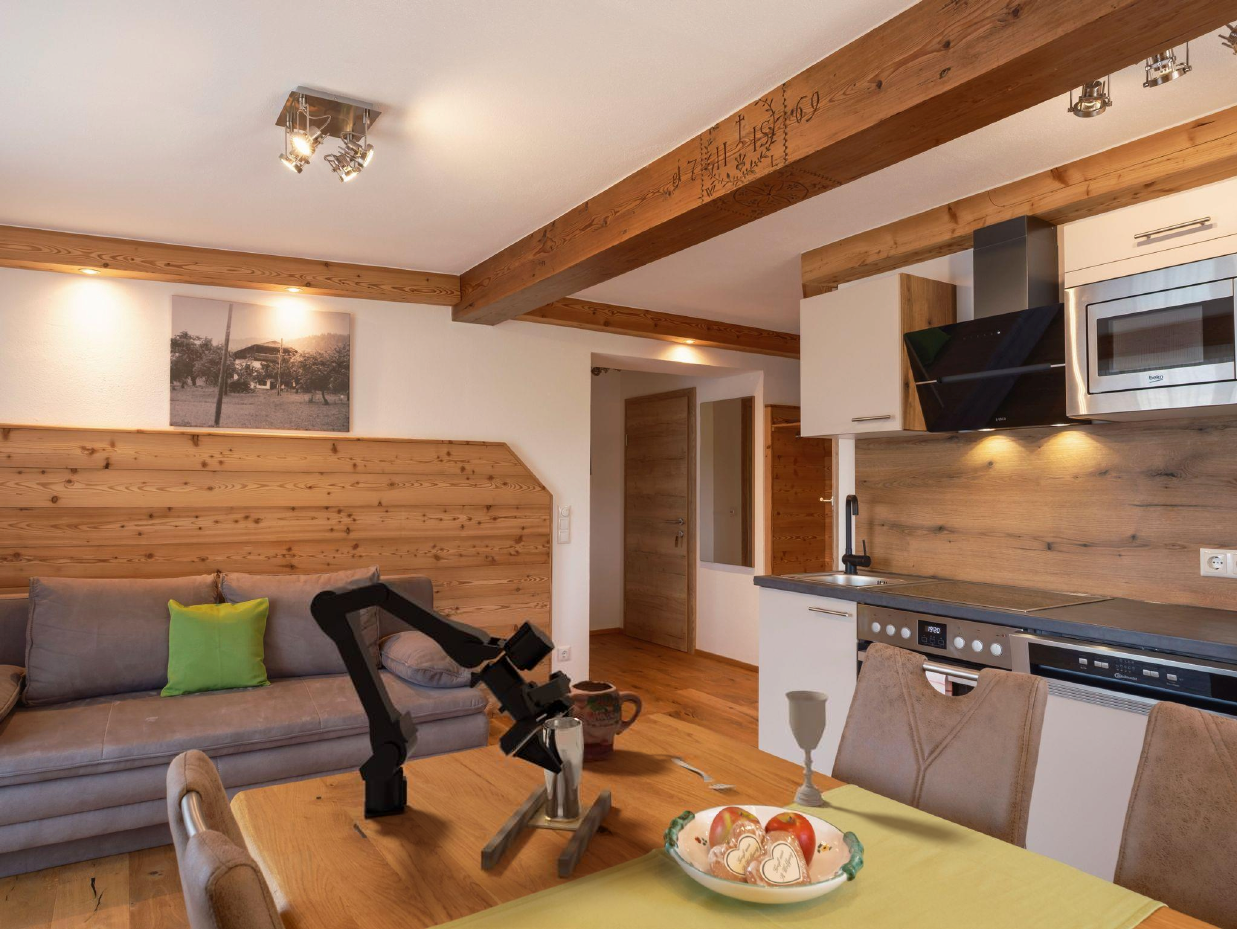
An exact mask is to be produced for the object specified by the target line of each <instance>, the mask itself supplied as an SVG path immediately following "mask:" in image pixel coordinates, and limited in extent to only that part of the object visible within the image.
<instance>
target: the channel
mask: <svg viewBox="0 0 1237 929" xmlns="http://www.w3.org/2000/svg"><path fill="white" fill-rule="evenodd" d="M546 802H547V786H546V785H541V784H539V785H537V786H536V788H535V789H534V790H533V791H532V792H531V793H530V794H529V795H528V797H527V798H526V799H525V801H524V802H523V803H521V805H520V806H519V807H518V808H517V809H516V810H515V812H514V813H513V814H512V815H511V816H510V817H509V818H508V819H507V821H506V822H505V823H504V824H503V825H502V826H501V828H500V829H499V830H498V831H497V832H496V833H495V834H494V836H493V837H492V838H491V839H490V840H489V841H488V843H487V844H485V846H484V847H483V848H482V849H481V850H480V870H492V869H493V868H494V867H495V866H496V864H497V863H498V862H499V860H500V859H501V858H502V857H503V855H505V853H506V852H507V850H508V849H509V848H510V847H511V846H512V845H513V843H514V842H515V841H516V839H517V838H518V837H519V836H520V835H521V833H522V832H523V831H524V830H525V828H526V827H528V826H527V824H528V822H529V821H530V820H531V819H532V817H533V816H534V815H535V814H536V813H537V811H538V810H539V809H540V808H541V806H542V805H543V804H544V803H546ZM591 806H592V807H591V809H590V810H589V812H588V813H587V815H586V816H585V818H584V819H583V821H582V822H581V824H580V825H579V827H578V829H577V830H576V831H575V832H574V833H573V835H572V836H571V837H570V839H569V841H568V843H567V844H566V845H565V847H564V849H562V852H561V853H560V855H559V856H558V857H557V877H558V878H559V877H560V878H570V876H571V874H572V872H573V871H574V869H575V867H576V865H577V864H578V862H579V861H580V859H581V858H582V855H583V854H584V852H585V851H586V848H587V847H588V846H589V844H590V842H591V840H592V839H593V837H594V835H595V834H596V832H597V831H598V829H599V827H600V825H601V824H602V822H603V820H604V819H605V817H606V815H607V814H608V811H609V810H610V808H611V807H612V790H607V789H602V790H601V792H600V793H599V795H598V797H597V798H596V800H595V801H594V802H593V804H592V805H591Z"/></svg>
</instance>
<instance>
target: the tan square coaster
mask: <svg viewBox="0 0 1237 929" xmlns="http://www.w3.org/2000/svg"><path fill="white" fill-rule="evenodd" d="M580 806H581V816H580V817H579V818H577V819H575V820H572V821H566V822H557V821H552V820H549V819H547V818H546V817H545V808H546V802H545V803H544V804H543V805H542V806H541V808H540V809H539V810H538V811H537V813H536V814H535V815H534V816H533V817H532V819H531V820H530V821H529V822H528V824H527V826H526V827H528V828H529V827H530V828H531V827H533V828H540V829H541V828H542V829H551V830H563V831H575V832H576V830H577V829H578V827H579V825H580V824H581V822H582V821H583V819H584V818H585V816H586V815H587V813H588V812H589V810H590V809H591V807H592V806H593V805H581V804H580Z"/></svg>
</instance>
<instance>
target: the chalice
mask: <svg viewBox="0 0 1237 929" xmlns="http://www.w3.org/2000/svg"><path fill="white" fill-rule="evenodd" d="M785 698H786V699H787V701H788V723H789V724H788V725H789V727H790V730H791V732H792V735H793V738H794V739H795V741H796V743H797V745H798V747H799V748H800V749H802V750H804V759H803V760H802V762H803V763H804V770H803V771H802V773H803V774H804V778H805V780H804V783H803V784H801V785H800V786H799V787H798V788H797V791H796V793H795V796H794V798H793V802H794V803H796V805H797V804H798V805H800V806H803V807H809V806H815V807H819V805H820V806H822V805H823V804H824V802H825V801H824V799H823V797H822V794H821V792H820V789H819V788H818V787H817V786H816V785H814V784H813V782H812V777H813V775H814V773H815V772H814V771H813V770H812V764H813V762H814V761H813V759H812V751H813V750H816V749H817V748H818V745H819V743H820V741H821V739H822V738H823V735H824V732H825V729H826V726H827V717H826V716H827V715H826V713H827V712H826V709H827V708H826V703H827V701H828V700H829V695H828V694H826V693H824V692H819V691H812V690H792V691H788V692H786V693H785Z"/></svg>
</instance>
